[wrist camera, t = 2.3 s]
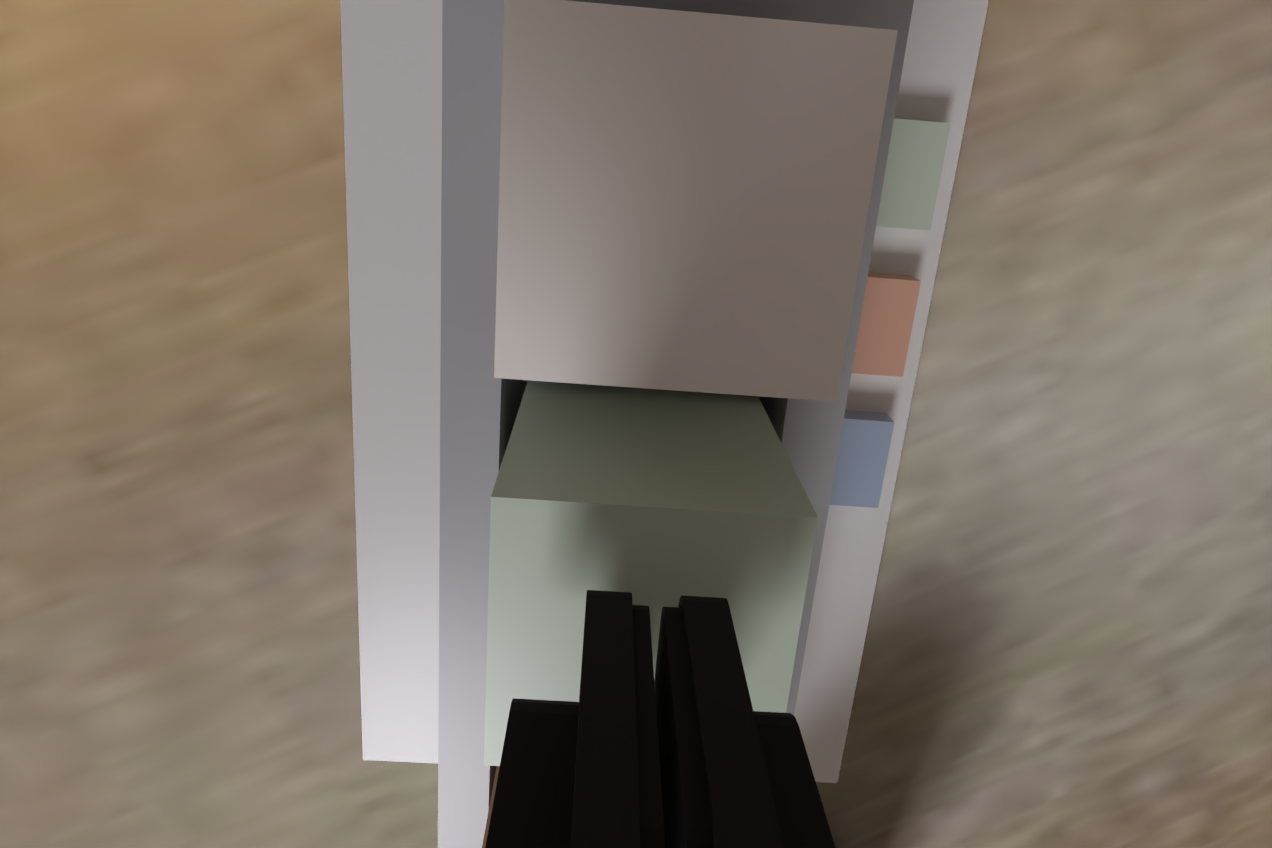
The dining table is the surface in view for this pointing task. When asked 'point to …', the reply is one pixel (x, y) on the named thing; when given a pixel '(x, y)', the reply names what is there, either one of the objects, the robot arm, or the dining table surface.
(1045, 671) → the dining table surface
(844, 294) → the key
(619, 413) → the key
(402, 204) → the grey block holder
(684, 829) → the robot arm
